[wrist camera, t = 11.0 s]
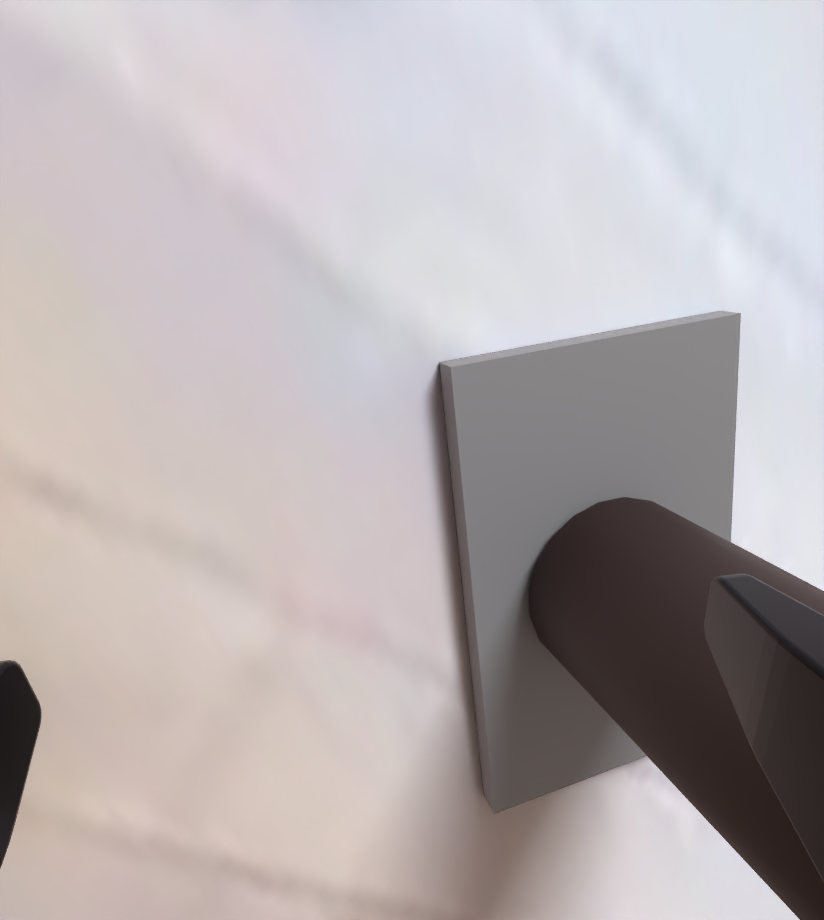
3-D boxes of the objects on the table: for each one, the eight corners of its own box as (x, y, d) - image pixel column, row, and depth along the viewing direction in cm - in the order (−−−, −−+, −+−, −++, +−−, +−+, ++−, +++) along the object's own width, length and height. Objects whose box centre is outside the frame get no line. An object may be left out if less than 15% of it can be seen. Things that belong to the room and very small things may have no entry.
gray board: (483, 795, 28) (494, 813, 27) (439, 362, 22) (450, 367, 21) (706, 713, 31) (722, 727, 30) (720, 310, 25) (740, 313, 24)
